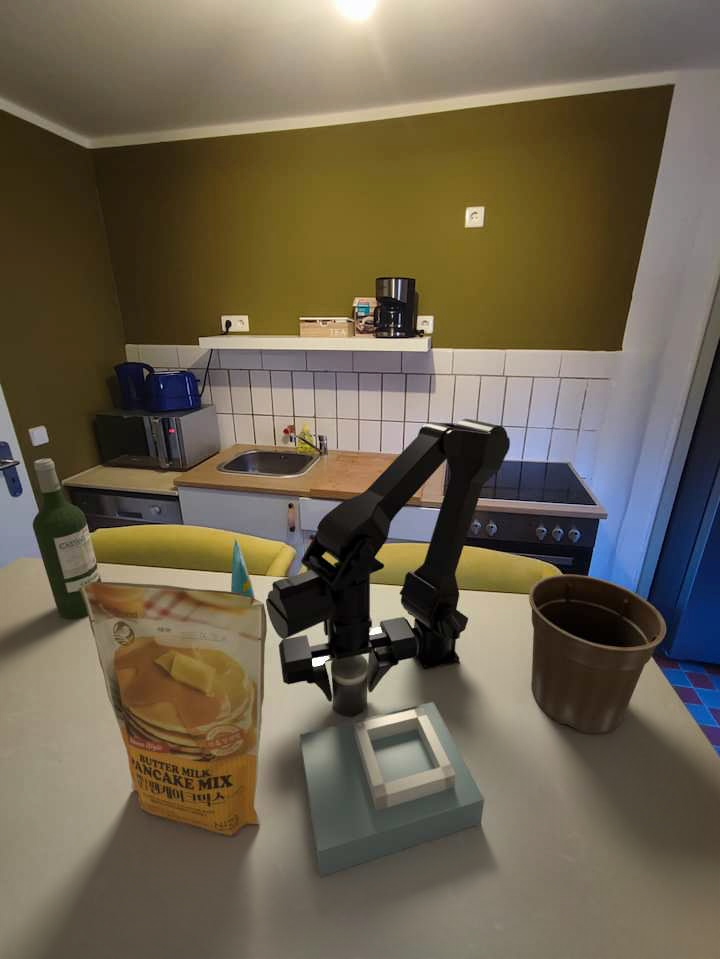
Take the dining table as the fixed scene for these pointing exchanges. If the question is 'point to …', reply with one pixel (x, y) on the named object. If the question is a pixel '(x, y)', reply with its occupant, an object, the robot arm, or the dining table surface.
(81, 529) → the wine bottle
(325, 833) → the teal base with frame
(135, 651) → the pancake mix bag
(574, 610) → the plant pot
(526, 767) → the dining table surface
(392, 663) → the robot arm
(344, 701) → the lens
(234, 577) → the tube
